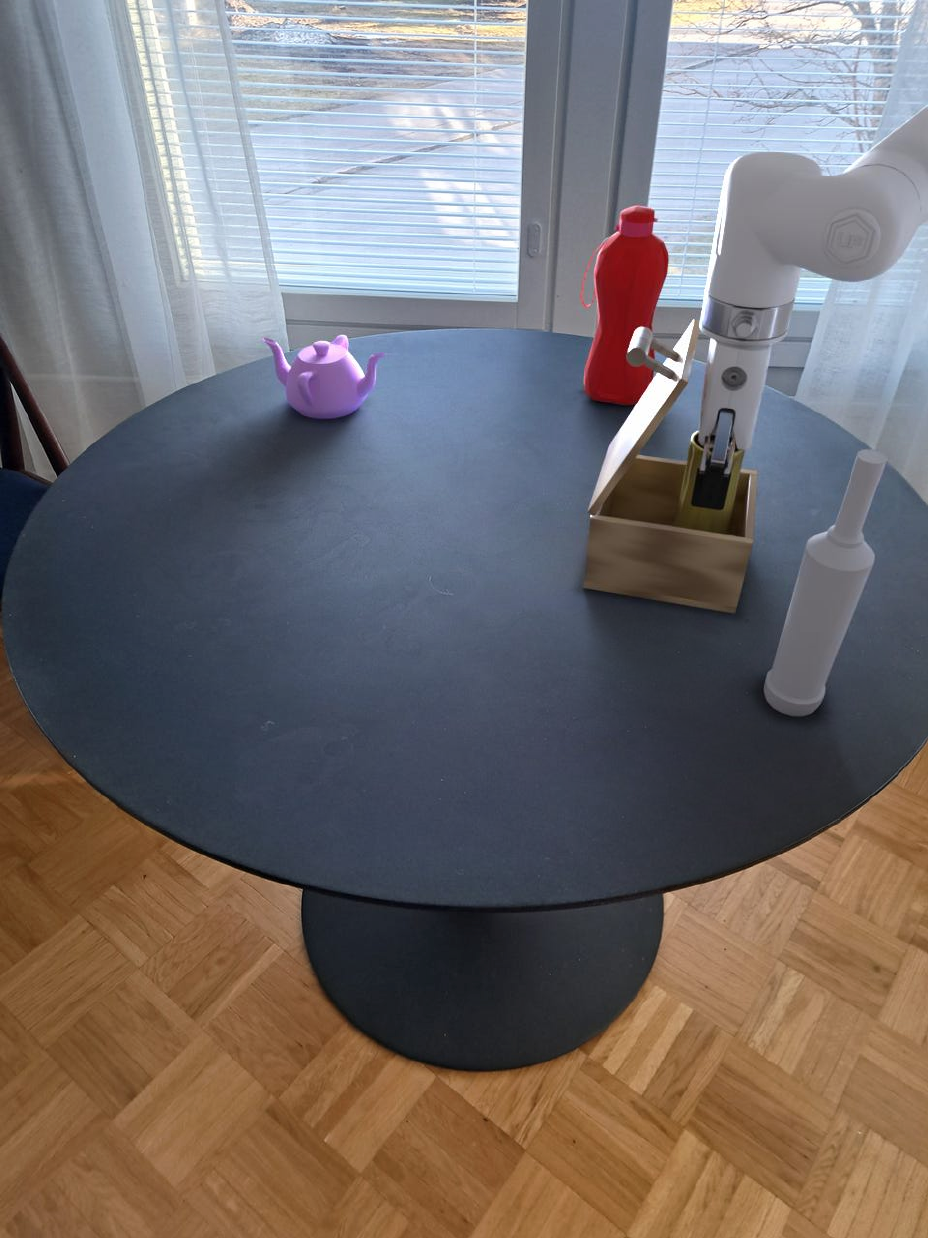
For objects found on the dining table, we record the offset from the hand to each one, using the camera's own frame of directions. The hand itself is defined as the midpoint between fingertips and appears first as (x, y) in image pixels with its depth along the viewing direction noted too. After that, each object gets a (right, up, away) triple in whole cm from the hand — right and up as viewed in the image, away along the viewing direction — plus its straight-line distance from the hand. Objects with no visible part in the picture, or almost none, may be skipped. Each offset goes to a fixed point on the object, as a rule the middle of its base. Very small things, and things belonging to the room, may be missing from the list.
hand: (709, 488), depth 88 cm
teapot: (-44, +17, +36) cm, 60 cm away
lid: (-7, +6, -3) cm, 10 cm away
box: (-3, -7, +7) cm, 10 cm away
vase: (0, -7, +6) cm, 9 cm away
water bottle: (-4, +20, +38) cm, 43 cm away
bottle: (+5, -20, -8) cm, 23 cm away
